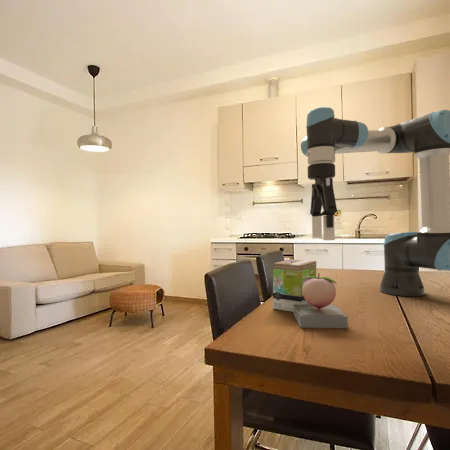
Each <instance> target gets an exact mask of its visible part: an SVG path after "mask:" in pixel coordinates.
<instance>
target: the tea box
mask: <svg viewBox="0 0 450 450" xmlns="http://www.w3.org/2000/svg"><path fill="white" fill-rule="evenodd" d="M272 266H273V268H272V269H273V271H272V273H273V274H272V309H273V310H280V311H287V312H292V313H294V304H308V305H310V304H309V303H308V302H307V301H306V300H305V298H304V297H303V294H302V287H303V284H304V282H305V281H306V280H307V279H309V278H306V279H304V280H302V279H303V278H305V277H308V276H315V277H317V261H316V260H309V259H308V260H307V259H286V260H285V259H284V260H282V261H277V262H273V265H272Z"/></svg>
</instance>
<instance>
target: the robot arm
mask: <svg viewBox="0 0 450 450" xmlns="http://www.w3.org/2000/svg"><path fill="white" fill-rule="evenodd" d="M335 116H336V115H335V110H334V109H333V108H332V107H330V106H320V107H316V108H313V109H311V110H309V111H308V112H307V114H306V126H305V128H306V136H304V137H303V138H302V140H301V141H300V150H301V153H302V154H303V156H305V157H307V165H308V166H307V178H308V179H309V180H314V183H312V184H311V198H310V199H311V201H310V209H309V210H310V212H309V215H311V228H312V229H311V236H312V239H317V238H319V239H321V238H323V239H322V240H323V241H335V240H336V238H335V235H336V234H335V233H336V232H335V214H336V213H337V212H338V209H337V202H336V197H335V191H334V185H333V184H334V180H333V178H336V165H335V164H334V163H336V155H337V154H338V155H339V154H351V153H353V154H354V153H356V154H357V153H367V152H368V153H370V152H376V153H379V154H409V153H413V156H415V157H416V158H417V159H418V160H419V179H420V181H419V183H420V206H421V207H420V209H421V214H420V215H421V227H420V228H419V229H418V230H417V231H406V232H405V231H404V232H395V233H388V234H386V235H385V237H384V243H383V251H384V252H383V253H384V254H383V256H384V257H383V258H384V271H383V275H382V278H381V281H380V284H379V291H380V292H381V293H384V294H388V295H391V296H393V295H394V296H400V297H421V296H424V295H425V286H424V283H423V281H422V278H421V276H420V272H419V271H420V268H421V269H431V270H436V271H438V272H439V271H440V272H441V271H447V272H450V110H449V109H442V110H437V111H432V112H431V113H428V114H424V115H421V116H418V117H416V118H412V119H410V120H406V121H403V122H401V123H397V124H395V125H391V126H383V127H381V128H379V129H371V130H369V128H368V126H367V124H366V123H364V122H361V121H357V120H350V119H341V118H338V117H335ZM322 210H323V211H322Z"/></svg>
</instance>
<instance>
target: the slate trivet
mask: <svg viewBox="0 0 450 450" xmlns="http://www.w3.org/2000/svg"><path fill="white" fill-rule="evenodd" d="M293 316H294V318H295V320H296V322H297V324H298V326H299V328H304V329H305V328H307V329H308V328H309V329H314V328H315V329H348V328H349V327H348V324H349V323H348V320H349V319H348V315H346V313H345V312H343V311H342V310H341V309H340V308H339V307H338V306H337V305H335V304H330V305H328V306H326V307H323V308H321V309H318V308H316V307H314V306H312V305H308V304H294V312H293Z"/></svg>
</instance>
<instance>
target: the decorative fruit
mask: <svg viewBox="0 0 450 450" xmlns="http://www.w3.org/2000/svg"><path fill="white" fill-rule="evenodd" d="M306 278H309V279H307V280H306V281H305V282H304V284H303V287H302V294H303V297H304V298H305V300H306V301H307V302H308V303H309V304H310V305H312V306H314V307H316V308H318V309H321V308H323V307H326V306H328V305H332V303H333V302H334V300H335V299H336V296H337V289H336V286H335V284H336V285H337V284H338V283H337V281H336V280H334V279H333V278H331V277H328V276H321V277H320V273H318V274H317V276H316V277H315V276H308V277H305V278H303V279H302V280H304V279H306Z"/></svg>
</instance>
